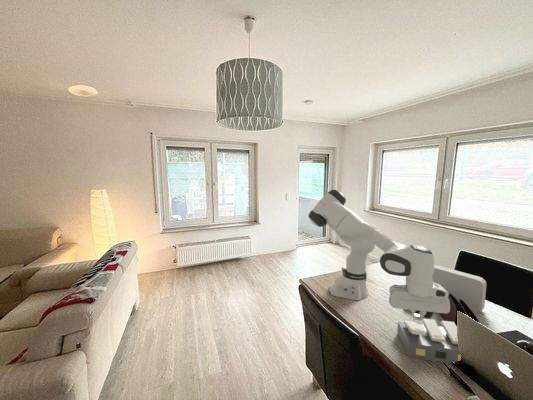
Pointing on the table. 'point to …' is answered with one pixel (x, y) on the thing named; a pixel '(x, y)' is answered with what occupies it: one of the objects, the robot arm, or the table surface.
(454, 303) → the letter holder
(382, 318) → the table surface
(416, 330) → the rocker
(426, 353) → the switch console
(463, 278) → the rounded white slab
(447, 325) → the rocker
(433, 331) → the rocker
